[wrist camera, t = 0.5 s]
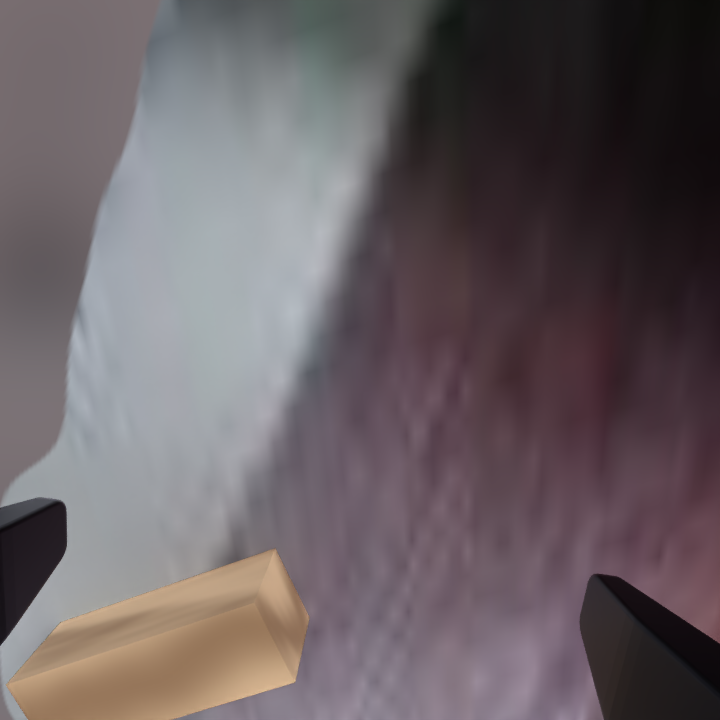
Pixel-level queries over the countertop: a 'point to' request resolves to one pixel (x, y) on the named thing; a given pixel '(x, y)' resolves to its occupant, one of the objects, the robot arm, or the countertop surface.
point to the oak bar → (171, 648)
